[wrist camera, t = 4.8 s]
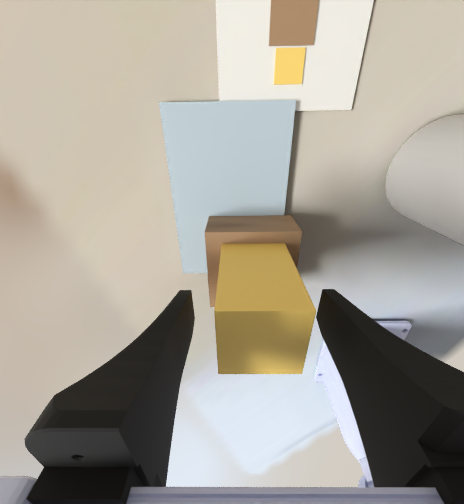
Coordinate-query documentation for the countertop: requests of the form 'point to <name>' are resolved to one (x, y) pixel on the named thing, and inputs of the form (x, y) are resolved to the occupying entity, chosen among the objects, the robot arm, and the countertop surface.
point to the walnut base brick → (247, 238)
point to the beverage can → (431, 177)
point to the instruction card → (291, 51)
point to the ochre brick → (261, 311)
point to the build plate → (225, 164)
